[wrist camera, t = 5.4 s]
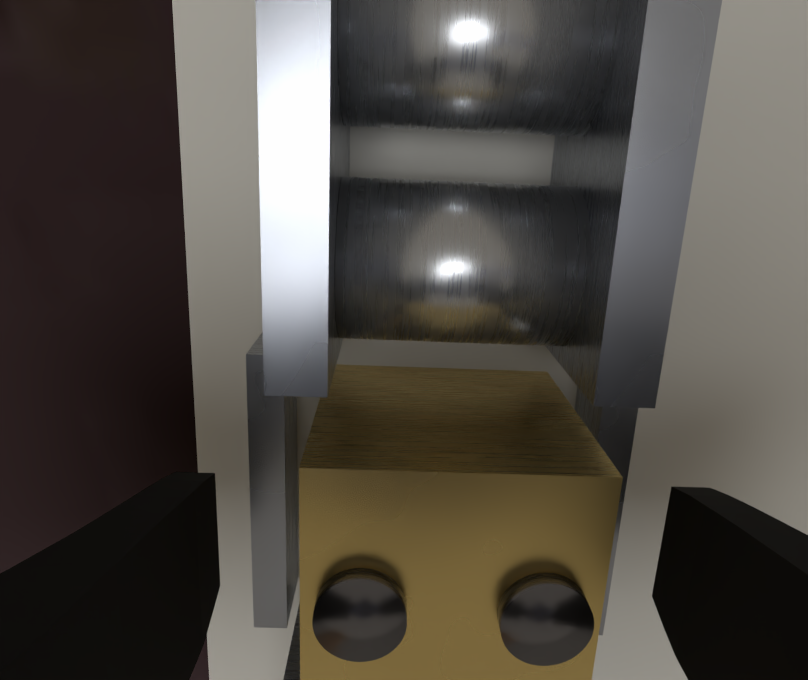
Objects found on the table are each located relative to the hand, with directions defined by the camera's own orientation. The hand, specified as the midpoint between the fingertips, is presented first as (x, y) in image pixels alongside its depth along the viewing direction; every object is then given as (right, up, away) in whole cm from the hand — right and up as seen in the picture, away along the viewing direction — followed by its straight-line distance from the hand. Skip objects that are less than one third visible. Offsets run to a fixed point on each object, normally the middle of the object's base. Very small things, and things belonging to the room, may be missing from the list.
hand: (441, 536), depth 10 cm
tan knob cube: (0, +1, +2) cm, 2 cm away
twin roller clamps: (0, +1, +2) cm, 2 cm away
